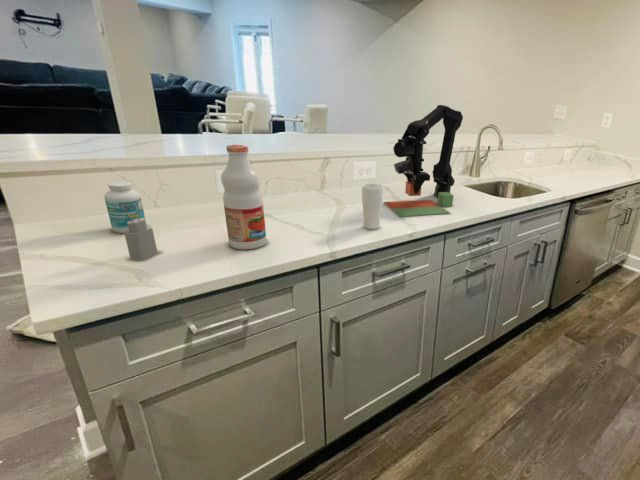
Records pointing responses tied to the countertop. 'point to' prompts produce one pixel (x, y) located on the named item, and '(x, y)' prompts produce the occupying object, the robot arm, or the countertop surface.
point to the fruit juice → (243, 201)
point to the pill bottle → (122, 205)
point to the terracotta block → (411, 189)
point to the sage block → (445, 199)
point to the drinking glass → (371, 205)
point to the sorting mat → (416, 208)
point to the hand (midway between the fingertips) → (413, 191)
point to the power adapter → (140, 239)
